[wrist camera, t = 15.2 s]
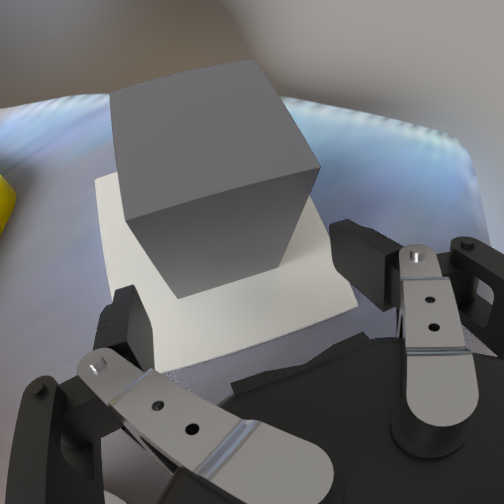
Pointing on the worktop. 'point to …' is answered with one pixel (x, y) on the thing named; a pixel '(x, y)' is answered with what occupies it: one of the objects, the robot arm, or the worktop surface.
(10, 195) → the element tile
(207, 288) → the tall grey pillar
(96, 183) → the stud plate
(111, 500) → the cylindrical container
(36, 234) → the worktop surface
